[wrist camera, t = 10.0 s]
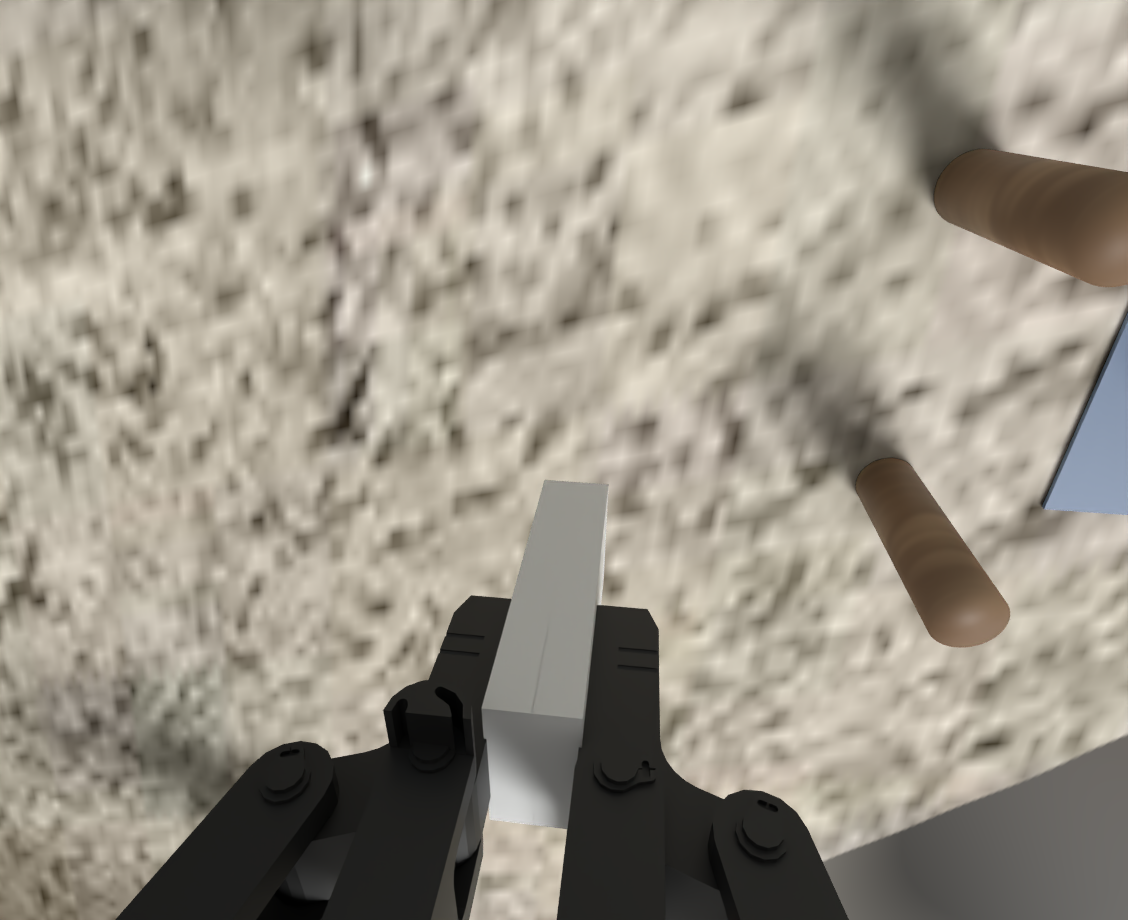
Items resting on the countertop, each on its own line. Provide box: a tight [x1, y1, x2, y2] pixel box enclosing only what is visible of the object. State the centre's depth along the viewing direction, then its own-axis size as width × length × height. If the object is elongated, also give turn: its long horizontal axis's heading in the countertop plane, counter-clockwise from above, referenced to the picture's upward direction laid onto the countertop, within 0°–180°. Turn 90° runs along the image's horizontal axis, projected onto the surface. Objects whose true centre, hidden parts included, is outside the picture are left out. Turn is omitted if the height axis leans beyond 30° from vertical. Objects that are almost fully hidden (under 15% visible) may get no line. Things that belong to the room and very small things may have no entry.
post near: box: [934, 149, 1128, 287], centre depth 20 cm, size 3×3×9 cm
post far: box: [856, 458, 1010, 647], centre depth 26 cm, size 3×3×9 cm
